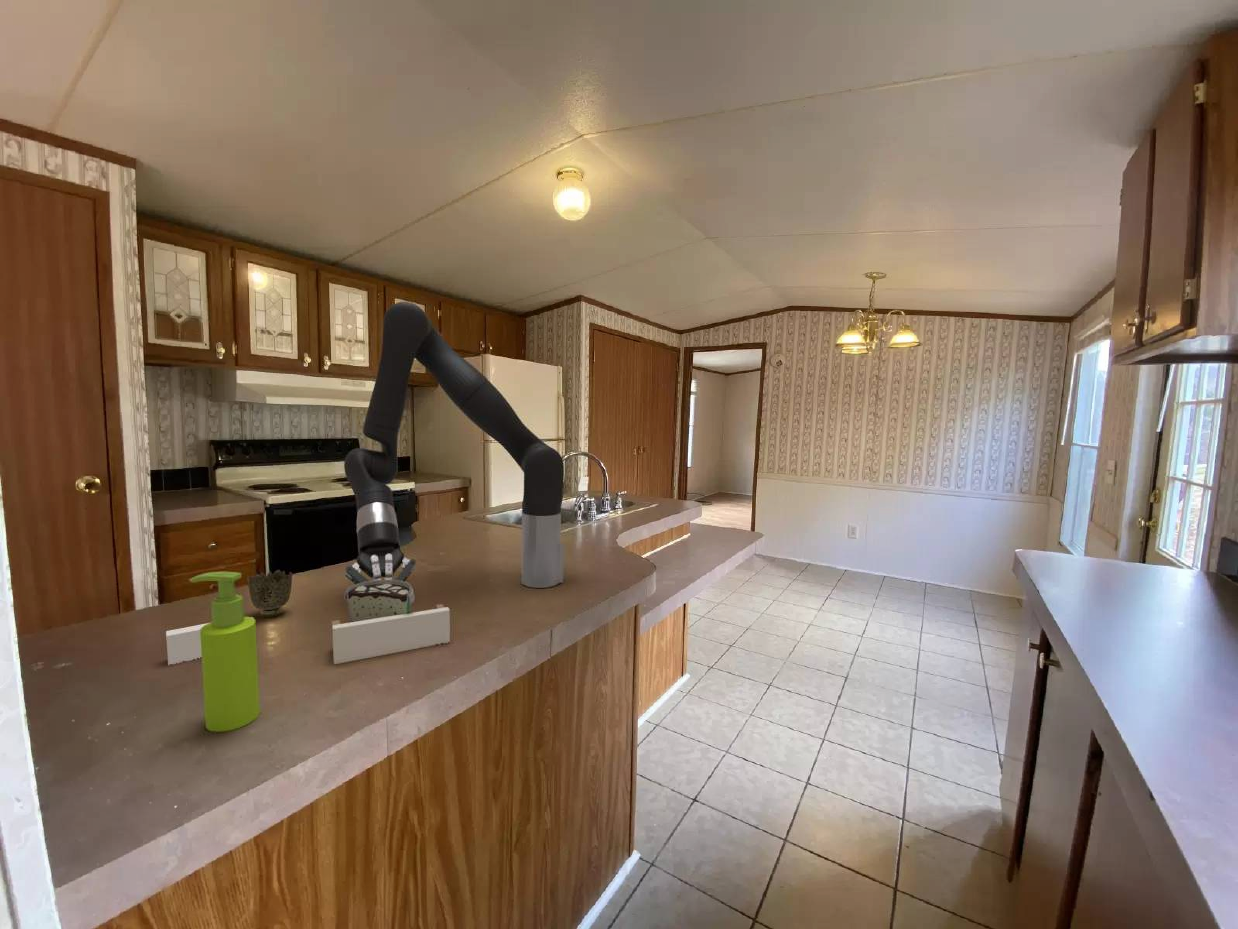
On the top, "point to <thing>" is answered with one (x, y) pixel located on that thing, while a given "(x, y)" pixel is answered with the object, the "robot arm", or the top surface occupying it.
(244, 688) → the soap dispenser
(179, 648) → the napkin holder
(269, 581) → the cup
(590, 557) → the top surface
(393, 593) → the food container
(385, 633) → the back stop bracket
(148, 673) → the top surface
